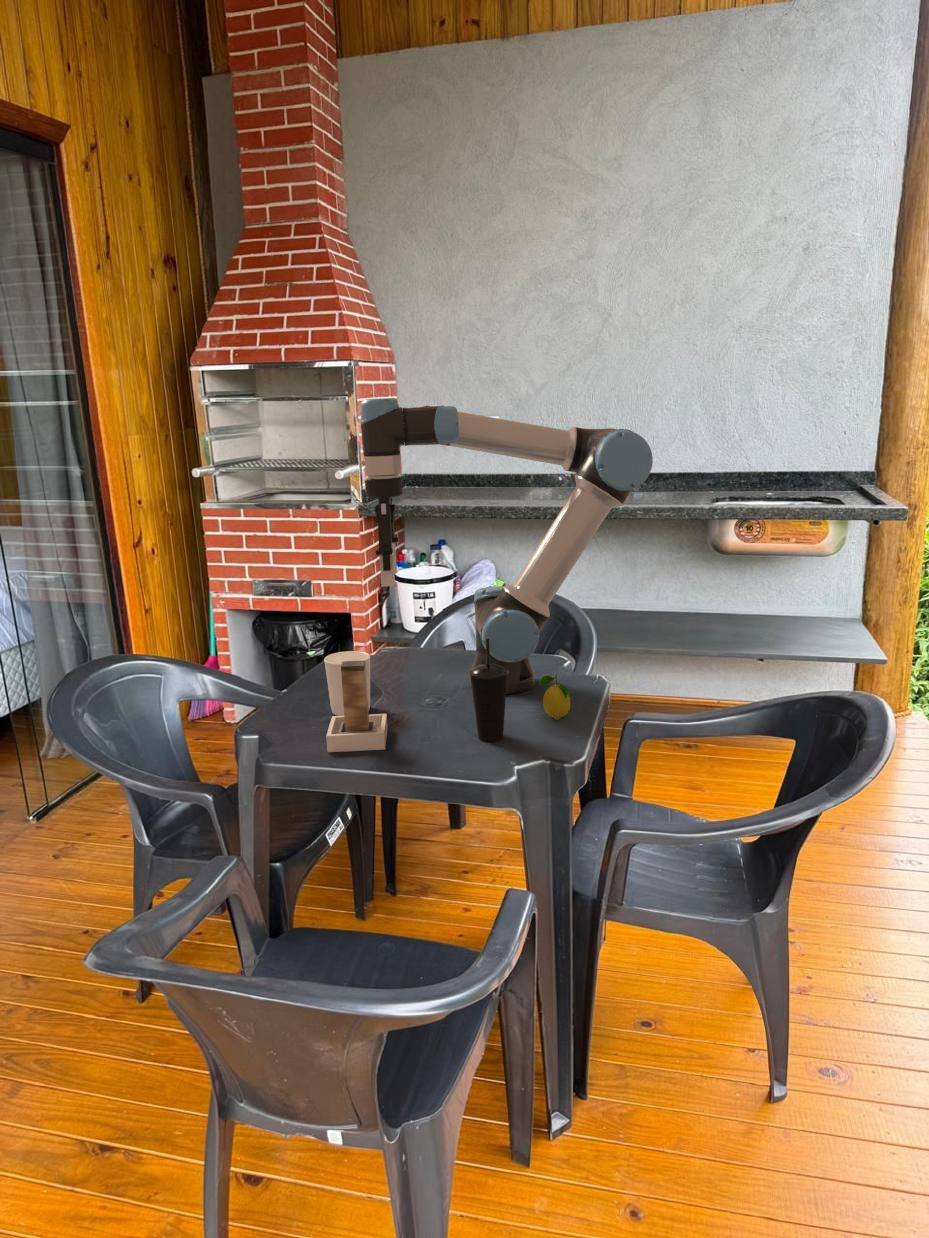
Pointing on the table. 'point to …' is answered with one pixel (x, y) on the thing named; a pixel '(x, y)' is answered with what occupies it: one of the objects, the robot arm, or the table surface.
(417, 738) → the table surface
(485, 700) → the drinking cup
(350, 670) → the brown bar
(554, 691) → the lemon
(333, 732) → the cream open tray
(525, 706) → the table surface
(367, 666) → the cream cup
